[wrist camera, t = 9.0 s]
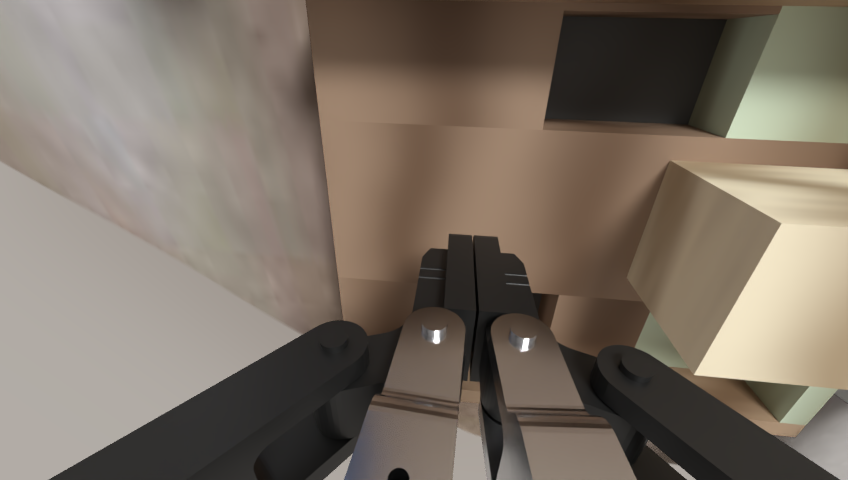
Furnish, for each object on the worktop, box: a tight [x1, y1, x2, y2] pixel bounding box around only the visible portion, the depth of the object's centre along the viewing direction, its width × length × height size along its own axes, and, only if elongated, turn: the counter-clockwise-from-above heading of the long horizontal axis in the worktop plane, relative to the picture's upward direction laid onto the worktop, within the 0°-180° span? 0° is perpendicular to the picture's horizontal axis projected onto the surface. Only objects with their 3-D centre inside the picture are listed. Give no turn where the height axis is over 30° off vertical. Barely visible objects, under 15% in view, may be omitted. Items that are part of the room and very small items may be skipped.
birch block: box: [627, 160, 848, 390], centre depth 11 cm, size 6×5×5 cm
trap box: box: [306, 0, 848, 437], centre depth 14 cm, size 20×16×5 cm
